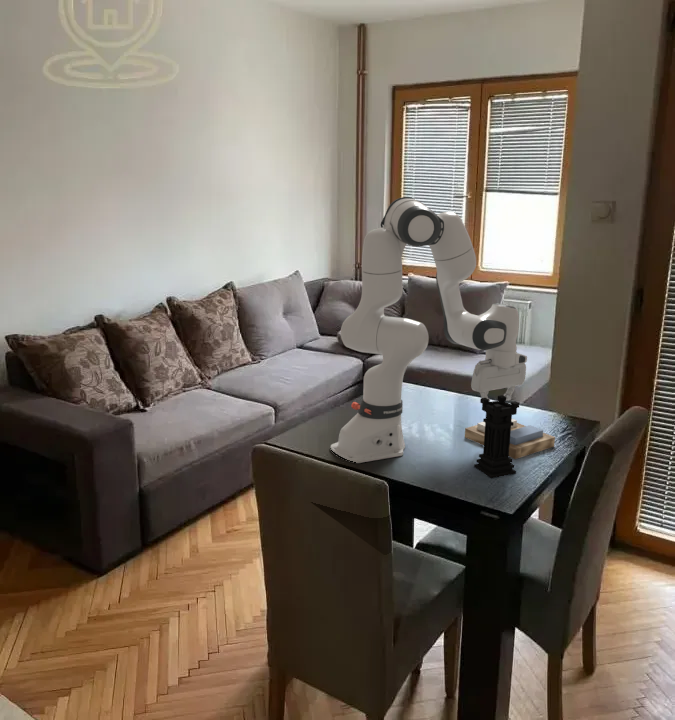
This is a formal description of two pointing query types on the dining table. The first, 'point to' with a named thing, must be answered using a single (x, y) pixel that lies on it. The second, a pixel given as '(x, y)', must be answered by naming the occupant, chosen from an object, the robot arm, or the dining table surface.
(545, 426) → the dining table surface
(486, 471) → the chess piece
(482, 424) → the ivory key
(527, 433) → the blue-grey rectangular block
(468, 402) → the dining table surface
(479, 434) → the key console
